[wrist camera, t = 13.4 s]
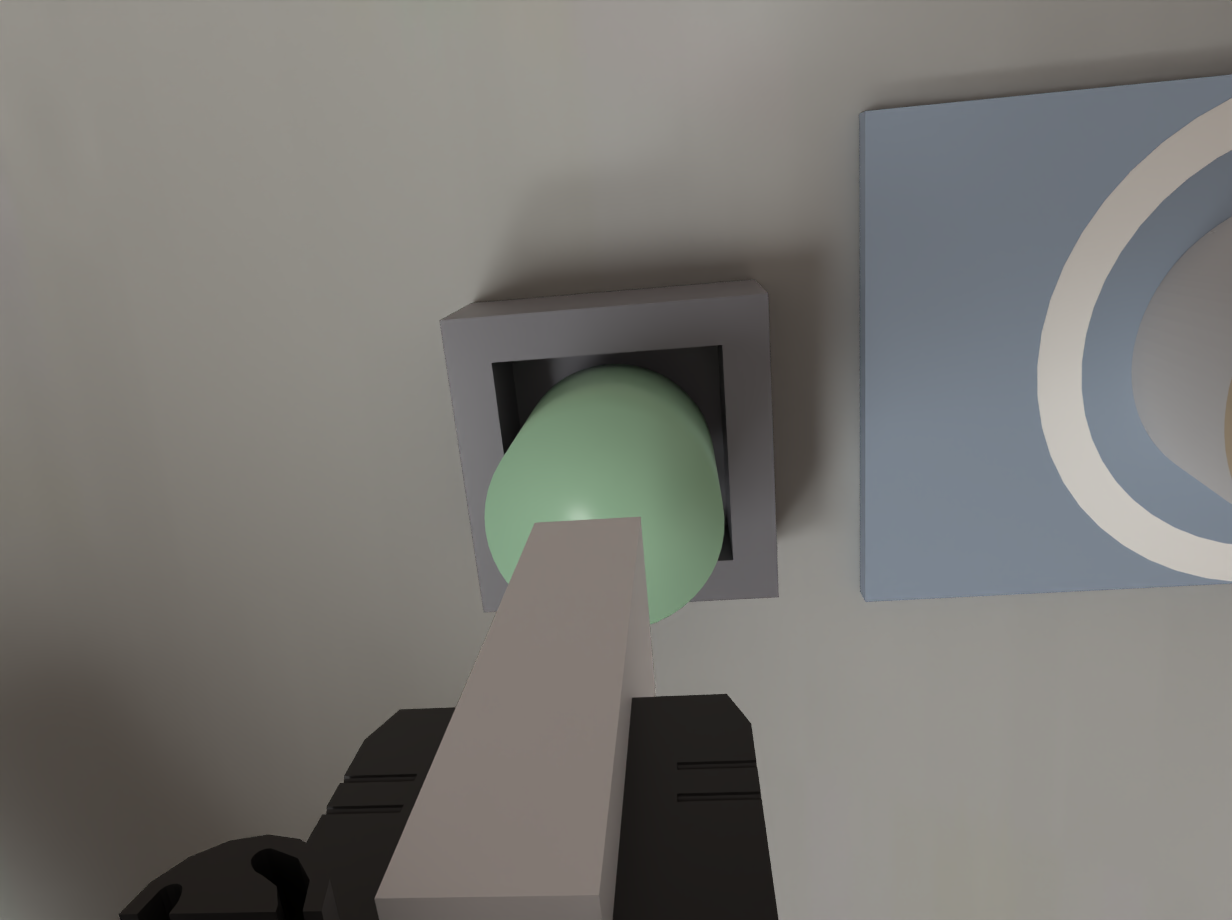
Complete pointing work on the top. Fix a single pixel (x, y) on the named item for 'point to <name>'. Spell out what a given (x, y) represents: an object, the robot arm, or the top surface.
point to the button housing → (641, 336)
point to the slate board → (1029, 340)
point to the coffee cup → (1190, 362)
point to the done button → (615, 476)
